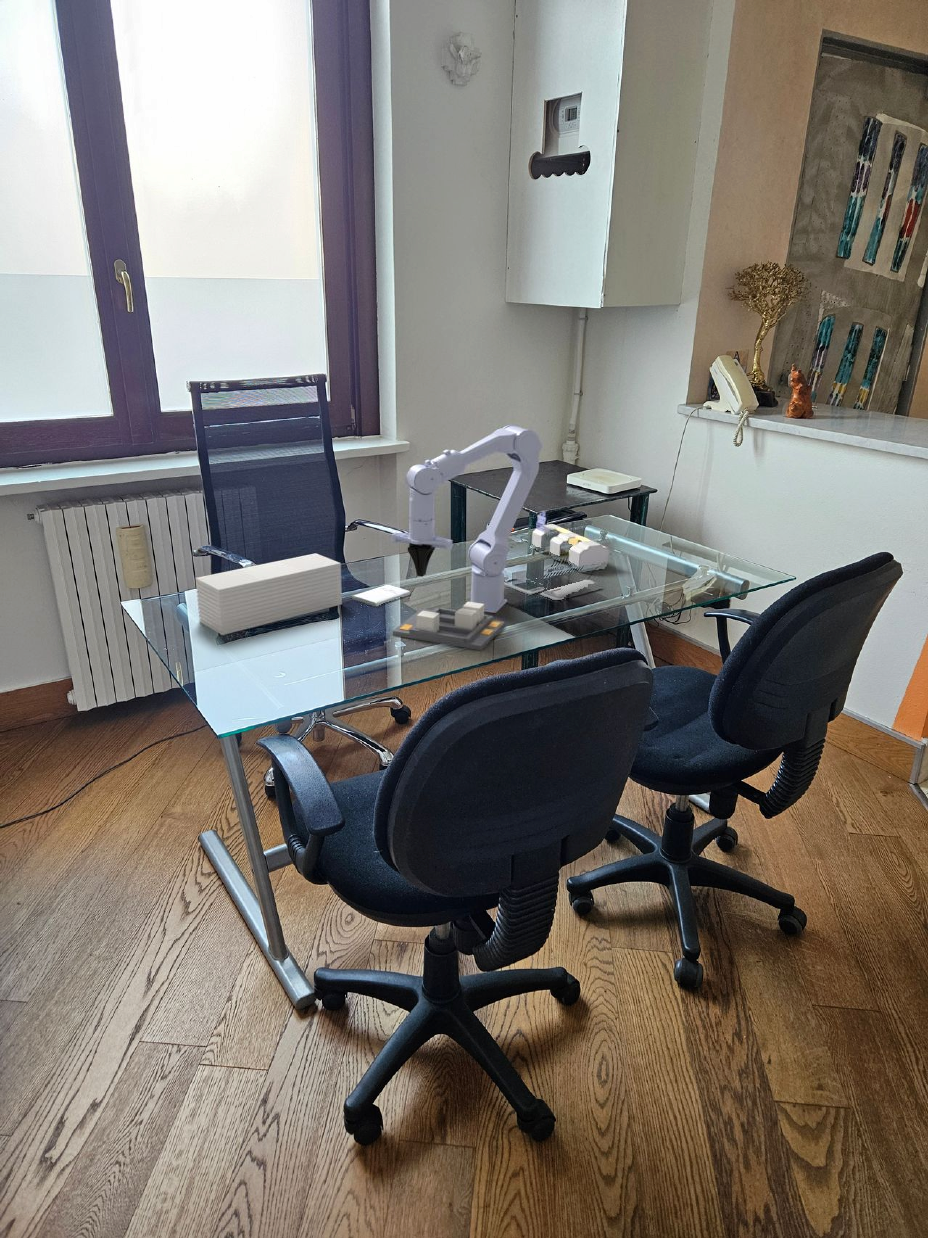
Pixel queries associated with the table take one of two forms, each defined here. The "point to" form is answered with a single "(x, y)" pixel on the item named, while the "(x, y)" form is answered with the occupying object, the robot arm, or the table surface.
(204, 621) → the stack of papers
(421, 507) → the robot arm
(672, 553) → the table surface
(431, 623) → the white block
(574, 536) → the diorama
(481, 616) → the white block
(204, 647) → the table surface
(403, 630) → the switch bank
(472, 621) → the white block
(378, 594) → the external hard drive
